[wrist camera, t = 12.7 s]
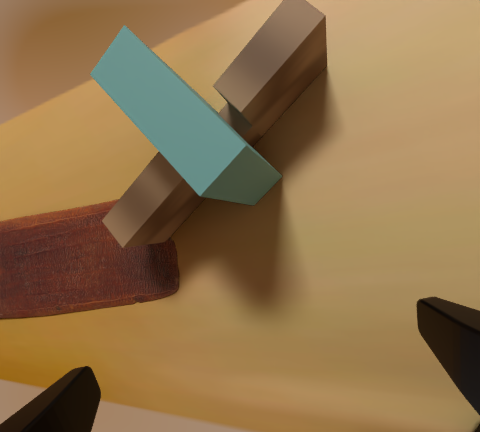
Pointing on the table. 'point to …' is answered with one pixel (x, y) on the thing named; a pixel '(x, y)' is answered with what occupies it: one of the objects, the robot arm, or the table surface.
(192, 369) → the table surface
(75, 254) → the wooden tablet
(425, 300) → the robot arm
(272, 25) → the walnut notched bar
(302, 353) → the table surface
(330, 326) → the table surface
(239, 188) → the teal flat block
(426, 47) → the table surface
